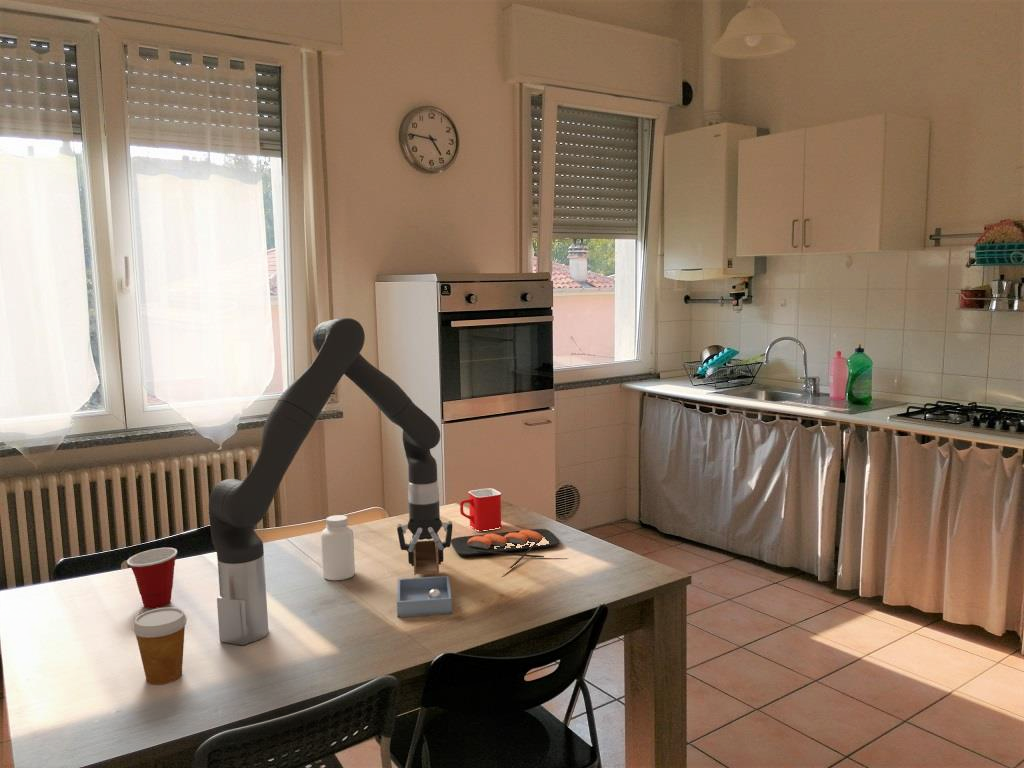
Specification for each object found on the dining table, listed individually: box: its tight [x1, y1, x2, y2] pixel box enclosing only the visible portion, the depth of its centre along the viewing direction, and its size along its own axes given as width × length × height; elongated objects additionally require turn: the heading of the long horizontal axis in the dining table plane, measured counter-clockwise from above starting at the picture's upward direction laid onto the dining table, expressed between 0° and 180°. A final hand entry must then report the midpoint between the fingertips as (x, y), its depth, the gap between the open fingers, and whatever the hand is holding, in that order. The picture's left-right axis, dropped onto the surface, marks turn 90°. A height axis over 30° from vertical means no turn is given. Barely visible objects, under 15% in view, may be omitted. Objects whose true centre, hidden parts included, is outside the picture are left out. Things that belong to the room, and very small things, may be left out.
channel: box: [413, 539, 440, 576], centre depth 204 cm, size 9×6×6 cm, turn 7°
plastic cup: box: [126, 547, 178, 610], centre depth 190 cm, size 11×11×12 cm
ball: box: [428, 589, 441, 599], centre depth 187 cm, size 3×3×3 cm
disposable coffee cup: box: [131, 606, 188, 685], centre depth 155 cm, size 10×10×12 cm
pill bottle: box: [320, 514, 356, 581], centre depth 206 cm, size 8×8×15 cm
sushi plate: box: [451, 528, 561, 568], centre depth 219 cm, size 29×30×4 cm
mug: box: [459, 487, 502, 531], centre depth 242 cm, size 12×8×11 cm
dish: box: [396, 575, 453, 618], centre depth 188 cm, size 14×12×4 cm
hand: (426, 564), depth 204 cm, fingers closed on channel, 6 cm apart
